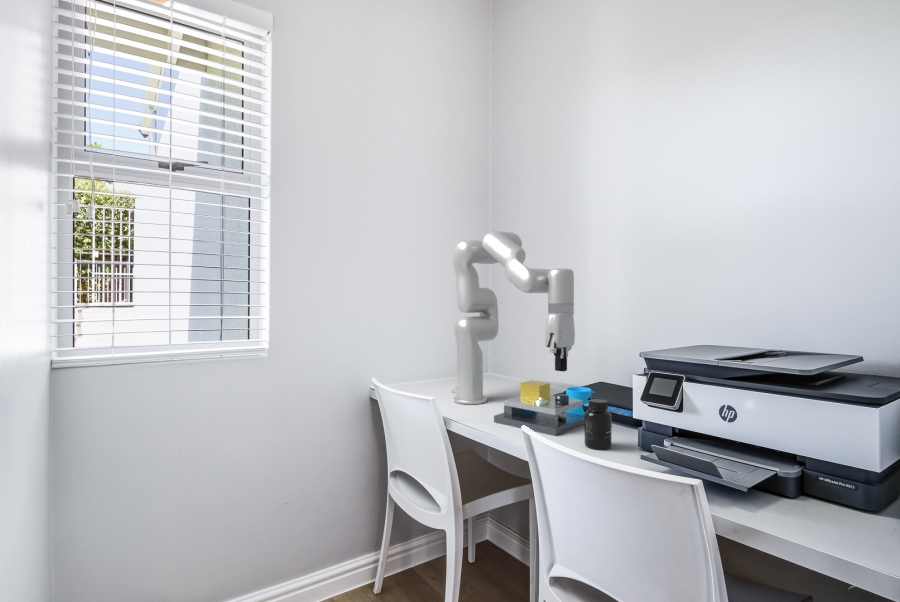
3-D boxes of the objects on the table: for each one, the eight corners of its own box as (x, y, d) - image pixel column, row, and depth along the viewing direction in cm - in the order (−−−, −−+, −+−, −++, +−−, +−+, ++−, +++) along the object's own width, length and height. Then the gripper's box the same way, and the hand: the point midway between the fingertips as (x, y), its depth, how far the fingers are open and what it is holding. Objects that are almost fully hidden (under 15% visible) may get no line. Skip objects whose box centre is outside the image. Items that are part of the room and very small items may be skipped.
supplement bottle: (613, 451, 123) (613, 404, 122) (586, 449, 124) (586, 403, 124) (609, 442, 129) (609, 398, 129) (583, 441, 130) (583, 397, 130)
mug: (575, 417, 156) (575, 392, 156) (561, 411, 164) (561, 387, 164) (606, 414, 160) (606, 389, 160) (590, 408, 168) (590, 385, 168)
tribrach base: (493, 422, 151) (493, 406, 151) (528, 411, 165) (528, 396, 165) (555, 435, 136) (555, 418, 136) (587, 422, 150) (587, 406, 150)
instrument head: (504, 405, 150) (504, 384, 150) (533, 397, 162) (533, 377, 161) (555, 415, 138) (555, 392, 137) (582, 405, 149) (582, 384, 149)
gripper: (562, 308, 153) (562, 366, 153) (536, 310, 142) (536, 372, 142) (584, 309, 148) (584, 369, 148) (559, 310, 137) (558, 375, 137)
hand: (560, 370), depth 145 cm, fingers closed
